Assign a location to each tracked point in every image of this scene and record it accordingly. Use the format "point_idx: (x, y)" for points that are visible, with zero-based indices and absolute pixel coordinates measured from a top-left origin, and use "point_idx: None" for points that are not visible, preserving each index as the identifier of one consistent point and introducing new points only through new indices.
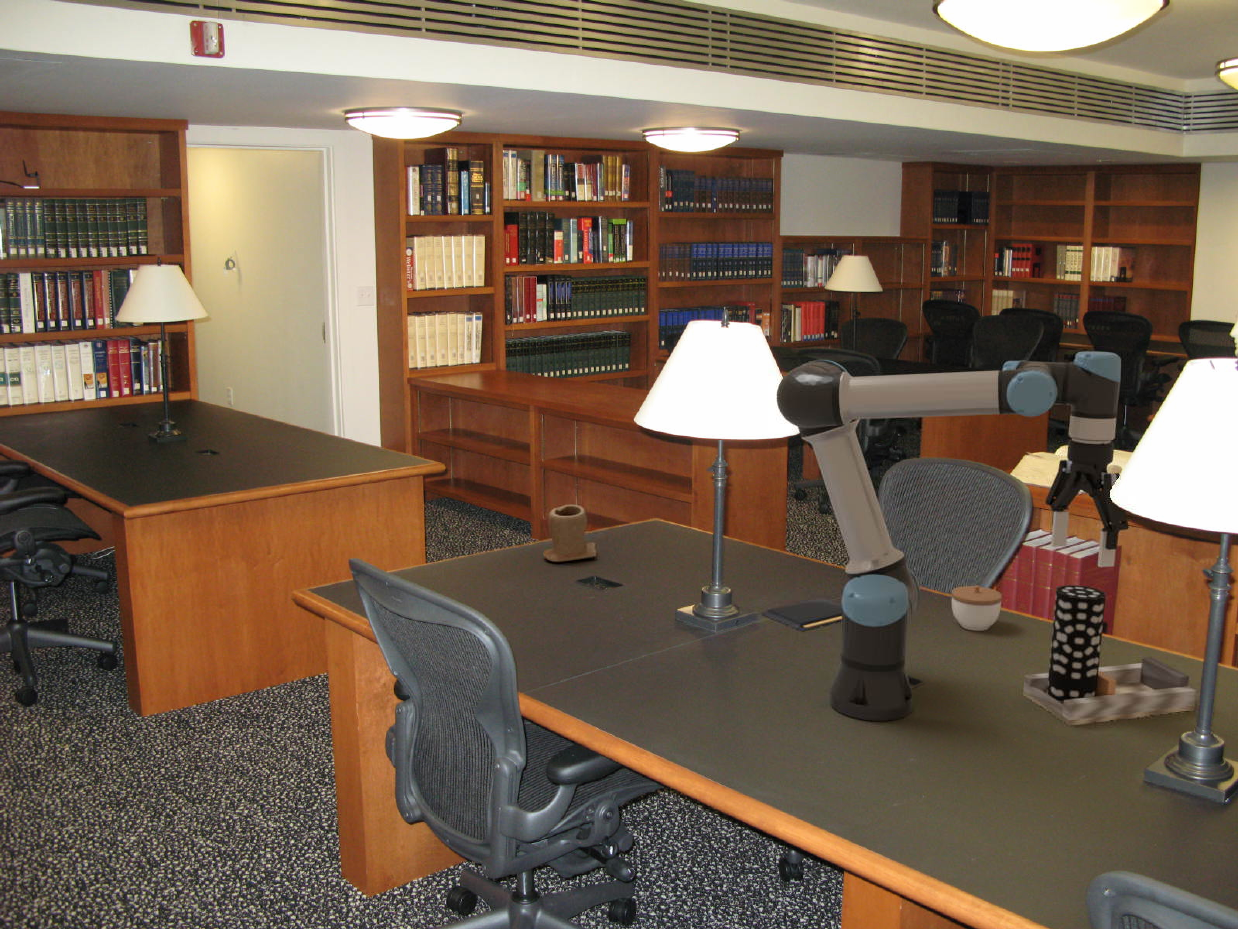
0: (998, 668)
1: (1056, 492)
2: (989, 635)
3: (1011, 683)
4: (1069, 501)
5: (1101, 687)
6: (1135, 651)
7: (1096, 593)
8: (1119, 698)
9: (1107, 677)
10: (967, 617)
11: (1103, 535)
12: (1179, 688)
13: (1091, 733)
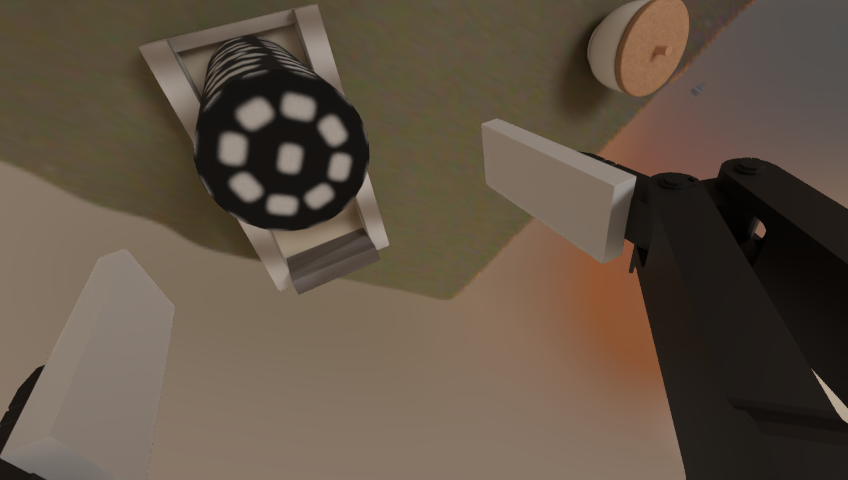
0: (440, 9)
1: (797, 256)
2: (568, 56)
3: (369, 5)
4: (652, 305)
5: None
6: (480, 246)
7: (282, 206)
8: None
9: None
10: (610, 18)
11: (22, 418)
12: (284, 272)
13: (114, 78)
